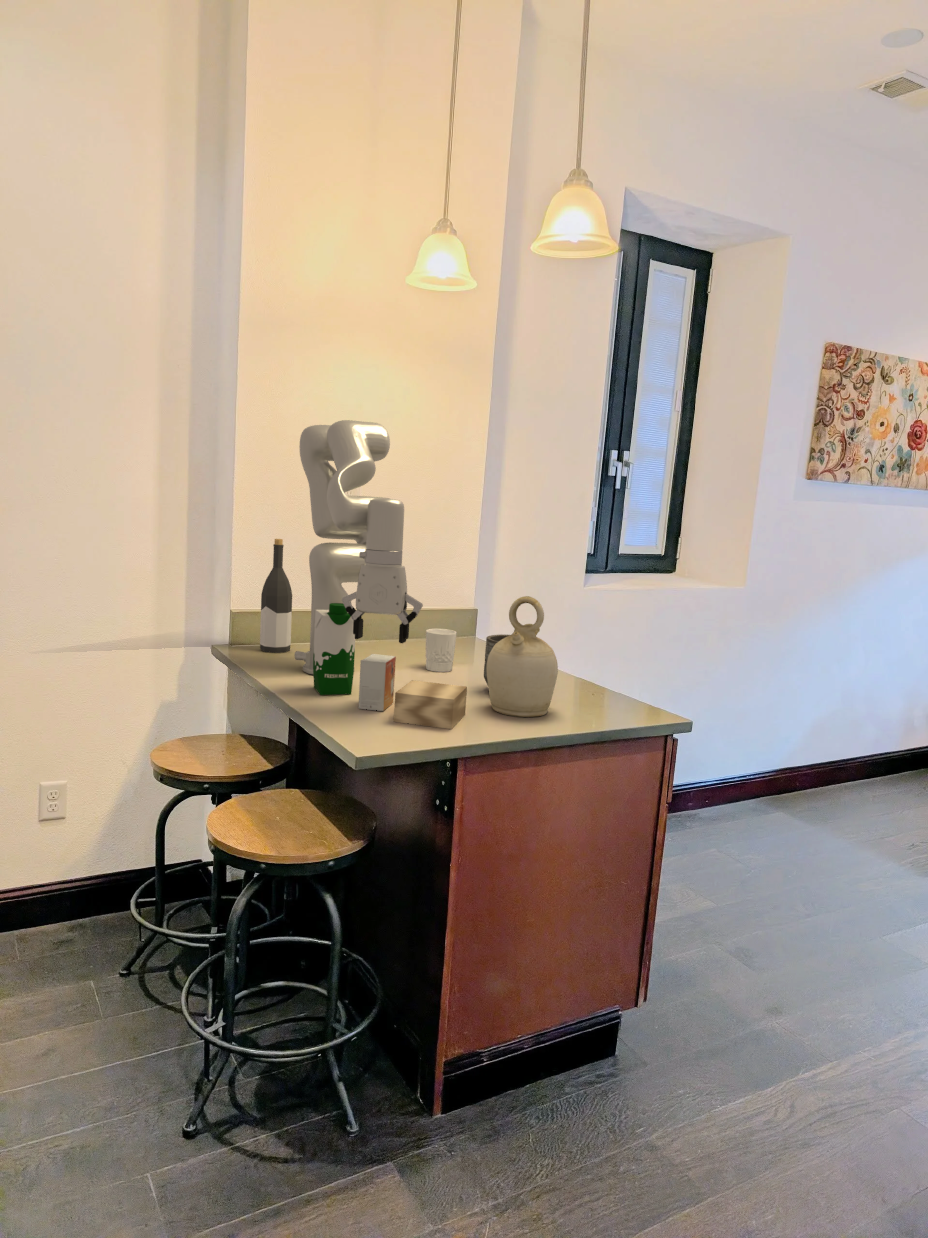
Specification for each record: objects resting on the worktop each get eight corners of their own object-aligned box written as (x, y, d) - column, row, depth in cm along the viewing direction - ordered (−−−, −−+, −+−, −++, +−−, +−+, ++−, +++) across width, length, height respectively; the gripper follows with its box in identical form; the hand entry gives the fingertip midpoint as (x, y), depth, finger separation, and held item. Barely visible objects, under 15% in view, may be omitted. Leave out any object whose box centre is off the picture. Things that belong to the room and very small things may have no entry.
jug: (511, 697, 203) (519, 589, 199) (567, 711, 193) (577, 599, 189) (469, 708, 191) (477, 593, 187) (527, 724, 181) (537, 603, 177)
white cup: (418, 670, 225) (420, 631, 224) (431, 664, 232) (433, 627, 231) (447, 674, 222) (449, 635, 221) (458, 668, 230) (461, 631, 228)
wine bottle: (296, 650, 239) (300, 540, 235) (275, 654, 232) (279, 540, 228) (274, 645, 243) (278, 537, 239) (253, 649, 237) (256, 537, 232)
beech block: (393, 721, 176) (395, 692, 175) (410, 707, 188) (412, 680, 187) (451, 729, 174) (453, 699, 173) (465, 714, 185) (467, 686, 184)
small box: (383, 712, 183) (386, 662, 181) (357, 709, 184) (360, 660, 182) (394, 703, 191) (396, 655, 189) (369, 700, 192) (371, 653, 190)
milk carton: (317, 696, 192) (320, 605, 189) (308, 686, 200) (312, 599, 197) (356, 695, 195) (360, 606, 192) (346, 685, 204) (350, 600, 201)
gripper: (338, 556, 181) (335, 639, 183) (419, 562, 177) (415, 646, 179) (350, 555, 188) (347, 634, 190) (428, 560, 184) (425, 641, 187)
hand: (380, 640), depth 185 cm, fingers open, 9 cm apart
